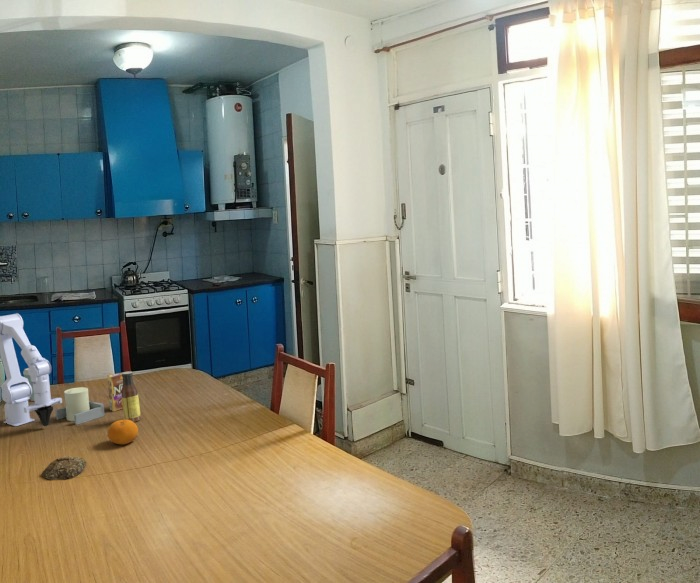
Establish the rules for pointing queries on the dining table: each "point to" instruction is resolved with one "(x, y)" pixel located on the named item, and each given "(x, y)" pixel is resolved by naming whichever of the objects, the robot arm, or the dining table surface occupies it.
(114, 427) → the fruit
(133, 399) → the sauce bottle
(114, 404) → the candy box
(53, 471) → the rough brown rock
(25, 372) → the disposable coffee cup
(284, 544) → the dining table surface
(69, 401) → the can
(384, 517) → the dining table surface
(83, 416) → the box
